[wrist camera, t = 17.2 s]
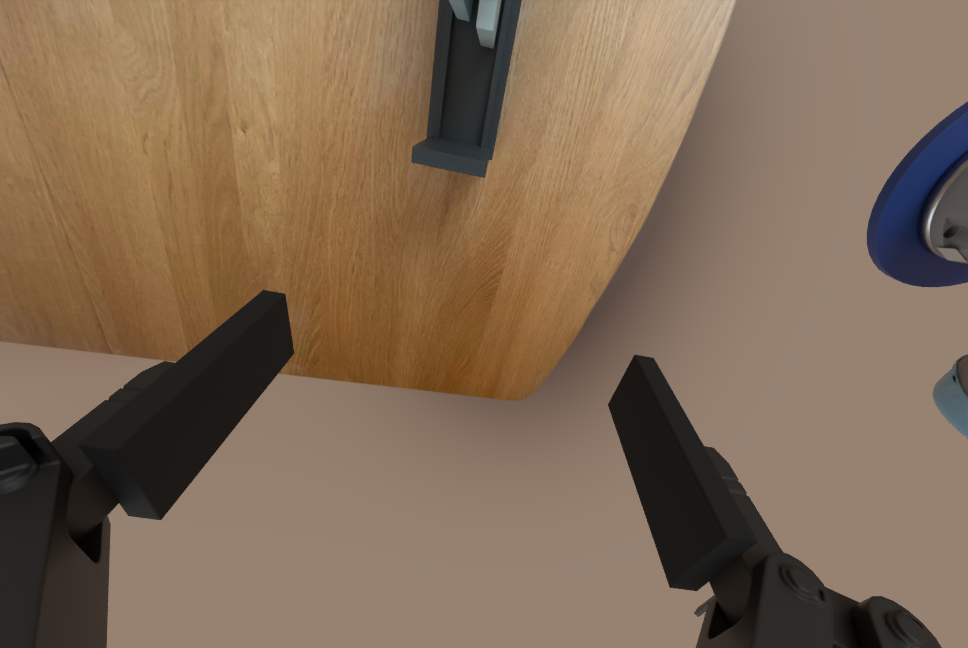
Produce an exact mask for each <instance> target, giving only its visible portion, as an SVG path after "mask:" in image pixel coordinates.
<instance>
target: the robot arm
mask: <svg viewBox="0 0 968 648" xmlns="http://www.w3.org/2000/svg"><path fill="white" fill-rule="evenodd" d="M917 236H918V240H919V242H920V244H921V245H922V247H923V248H924V249H925V250H926V251H928V252H929V253H931V254H933V255H935V256H938V257H941V258H944V259H947V260H949V261H954V262H959V263H965V264H968V150H967V151H966V152H965V153H964V154H963V155H961V156H960V157H959V158H958V159H957V160H956V161H955V162H954V163H953V164H952V165H951V166H950V167H949V168H948V169H947V170H946V171H945V172H944V173H943V175H942V176H941V177H940V178H939V179H938V181H937V182H936V183H935V185H934V186H933V188H932V189H931V190H930V192H929V194H928V195H927V197H926V199H925V201H924V203H923V205H922V207H921V210H920V212H919V216H918V220H917ZM293 354H294V349H293V342H292V336H291V329H290V322H289V316H288V309H287V302H286V295H285V294H283V293H277V292H272V291H266V290H263V291H262V292H261V293H259V294H258V295H257V296H256V297H255V298H253V299H252V300H251V301H250V302H249V303H247V304H246V305H245V306H244V307H242V308H241V309H240V310H239V311H238V312H236V313H235V314H234V315H233V316H232V317H230V318H229V319H228V320H227V321H226V322H224V323H223V324H222V325H221V326H220V327H218V328H217V329H216V330H215V331H214V332H212V333H211V334H210V335H209V336H208V337H206V338H205V339H204V340H203V341H201V342H200V343H199V344H198V345H197V346H195V347H194V348H193V349H192V350H191V351H189V352H188V353H187V354H186V355H185V356H183V357H182V358H181V359H180V360H179V361H177V362H176V363H172V362H166V361H164V362H162V363H160V364H158V365H155V366H153V367H151V368H149V369H147V370H145V371H143V372H141V373H140V374H138V375H137V376H136V377H134V378H133V379H132V380H131V381H129V382H128V383H127V384H126V385H124V388H123V389H119V390H118V391H116V392H115V393H114V394H113V395H111V396H110V397H109V400H105V401H104V402H102V403H101V404H100V405H98V406H97V407H96V408H95V409H93V410H92V411H91V412H89V413H88V414H87V415H85V416H84V417H83V418H82V419H80V420H79V421H78V422H77V423H75V424H74V425H73V426H71V427H70V428H69V429H67V430H66V431H65V432H64V433H62V434H61V435H60V436H58V437H57V438H56V439H55V440H53V441H52V442H50V441H49V440H48V439H47V437H46V436H45V435H44V433H43V432H42V431H41V429H40V428H39V427H37V426H35V425H33V424H31V423H18V422H14V423H8V424H2V425H0V648H106V645H107V615H108V613H107V612H108V585H109V553H110V552H109V551H110V522H109V518H108V516H107V515H108V514H109V513H110V512H111V511H112V510H113V509H114V508H115V507H116V505H117V504H118V503H120V505H121V506H122V508H123V509H124V510H125V512H126V513H127V515H128V516H134V517H141V518H150V519H156V520H162V518H163V517H164V516H165V514H166V513H167V512H168V511H169V509H170V508H171V507H172V506H173V504H174V503H175V502H176V501H177V499H178V498H179V497H180V496H181V494H182V493H183V492H184V491H185V489H186V488H187V487H188V485H189V484H190V483H191V482H192V481H193V479H194V478H195V477H196V476H197V474H198V473H199V472H200V471H201V469H202V468H203V467H204V466H205V464H206V463H207V462H208V460H209V459H210V458H211V456H213V454H214V453H215V452H216V450H217V449H218V448H219V447H220V446H221V444H222V443H223V442H224V441H225V439H226V438H227V437H228V435H229V434H230V433H231V432H232V430H233V429H234V428H235V427H236V425H237V424H238V423H239V422H240V420H241V419H242V418H243V417H244V415H245V414H246V413H247V412H248V410H249V409H250V408H251V407H252V405H253V404H254V403H255V402H256V400H257V399H258V398H259V397H260V395H261V394H262V393H263V392H264V390H265V389H266V388H267V386H268V385H269V384H270V383H271V382H272V380H273V379H274V378H275V376H276V375H277V374H278V373H279V372H280V370H281V369H282V368H283V367H284V365H285V364H286V363H287V362H288V360H289V359H290V358H291V356H292V355H293ZM933 399H934V401H935V404H936V406H937V407H938V409H939V410H940V412H941V413H942V414H943V415H944V417H945V418H946V419H947V420H948V421H949V422H950V423H951V424H952V425H953V426H954V427H955V428H956V429H957V430H958V431H959V432H960V433H962V434H963V435H964V436H965V437H966V438H968V355H965V356H962V357H961V358H959V359H958V360H957V361H956V363H955V364H954V365H953V367H952V369H951V370H950V371H949V372H948V373H947V374H945V375H944V376H943V377H942V378H941V379H940V380H939V381H938V382H937V383H936V384H935V387H934V389H933ZM608 406H609V409H610V412H611V415H612V418H613V421H614V424H615V427H616V430H617V433H618V436H619V438H620V442H621V445H622V448H623V451H624V453H625V456H626V459H627V462H628V465H629V468H630V471H631V474H632V477H633V480H634V483H635V486H636V489H637V492H638V495H639V498H640V501H641V504H642V507H643V510H644V512H645V515H646V518H647V522H648V524H649V527H650V530H651V533H652V536H653V539H654V542H655V545H656V548H657V551H658V554H659V557H660V560H661V563H662V566H663V569H664V572H665V574H666V578H667V581H668V584H669V587H670V588H678V589H685V590H694V591H697V590H699V589H700V588H701V587H702V586H704V585H705V584H706V583H707V582H710V585H711V587H712V589H713V592H714V594H715V595H714V596H712V597H711V598H710V599H709V600H707V601H706V602H705V603H703V604H702V605H701V606H699V607H698V608H697V610H696V611H695V612H694V614H695V615H697V616H698V617H699V616H700V615H702V614H703V613H704V612H706V614H705V617H704V621H703V624H702V628H701V632H700V635H699V638H698V642H697V645H696V648H941V646H940V644H939V643H938V641H937V639H936V638H935V637H934V636H933V635H932V633H931V632H930V631H929V630H928V629H927V628H926V627H925V625H924V624H923V623H922V622H921V621H919V620H918V619H917V618H916V617H915V616H914V615H913V614H911V613H910V612H909V611H908V610H906V609H905V608H903V607H902V606H900V605H898V604H897V603H896V602H894V601H892V600H889V599H887V598H884V597H881V596H873V597H870V598H869V599H866V600H864V601H863V602H861V603H859V602H857V601H854V600H852V599H850V598H848V597H846V596H843V595H841V594H839V593H837V592H835V591H833V590H831V589H828V588H826V587H825V586H824V584H823V583H822V582H821V581H820V579H819V578H818V577H817V576H816V575H815V574H814V573H813V571H812V570H810V569H809V568H808V567H807V566H806V565H804V564H803V563H802V562H801V561H799V560H798V559H796V558H794V557H792V556H791V555H789V554H786V553H783V551H782V550H781V548H780V547H779V545H778V544H777V542H776V540H775V539H774V537H773V535H772V534H771V532H770V530H769V529H768V527H767V526H766V524H765V522H764V521H763V519H762V517H761V516H760V514H759V512H758V511H757V509H756V507H755V506H754V504H753V503H752V501H751V499H750V498H749V496H747V495H746V491H745V489H744V488H743V486H742V485H741V483H739V482H738V478H737V476H736V475H735V473H734V471H733V470H732V468H731V467H730V465H729V463H728V462H727V461H726V460H725V459H724V458H723V457H722V456H721V455H720V454H719V453H718V452H717V451H716V450H715V449H714V448H712V447H705V446H703V444H702V442H701V440H700V439H699V437H698V435H697V433H696V432H695V430H694V428H693V426H692V424H691V423H690V421H689V419H688V417H687V416H686V414H685V412H684V410H683V409H682V407H681V405H680V403H679V402H678V400H677V398H676V396H675V395H674V393H673V391H672V390H671V388H670V386H669V384H668V382H667V381H666V379H665V377H664V375H663V374H662V372H661V370H660V368H659V367H658V365H657V363H656V362H655V360H654V358H650V357H645V356H639V355H634V357H633V359H632V361H631V362H630V364H629V366H628V368H627V370H626V372H625V374H624V376H623V377H622V379H621V381H620V383H619V385H618V387H617V389H616V391H615V393H614V394H613V396H612V398H611V400H610V402H609V404H608Z"/></svg>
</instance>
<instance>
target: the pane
mask: <svg viewBox="0 0 968 648" xmlns="http://www.w3.org/2000/svg"><path fill="white" fill-rule="evenodd" d="M500 6H501V0H479V8H478V15H477V22H476V29H477V33H478V37H479V40H480V44H481V46H484V47H488V48H492V49H493V48H494V43H495V37H496V31H497V25H498V18H499V12H500Z"/></svg>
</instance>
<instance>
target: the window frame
mask: <svg viewBox="0 0 968 648" xmlns="http://www.w3.org/2000/svg"><path fill="white" fill-rule="evenodd" d="M521 1H522V0H501V6H500V12H499V18H498V25H497V31H496V37H495V43H494V48H493V49H492V48H488V47H484V46H481V44H480V40H479V37H478V33H477V29H476V22H477V15H478V8H479V0H440V1H439V11H438V22H437V33H436V44H435V54H434V65H433V76H432V87H431V97H430V108H429V119H428V130H427V139H425V140H423V141H422V142H420V143H418V144H416V145H415V146H413V150H412V163H417V164H421V165H426V166H431V167H436V168H440V169H445V170H450V171H455V172H460V173H464V174H469V175H474V176H479V177H483V178H485V173H486V168H487V162H488V159H489V160H492V156H493V151H494V145H495V140H496V135H497V129H498V124H499V119H500V113H501V108H502V103H503V97H504V92H505V86H506V81H507V76H508V70H509V65H510V60H511V54H512V49H513V44H514V38H515V33H516V28H517V22H518V17H519V11H520V6H521Z"/></svg>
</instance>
